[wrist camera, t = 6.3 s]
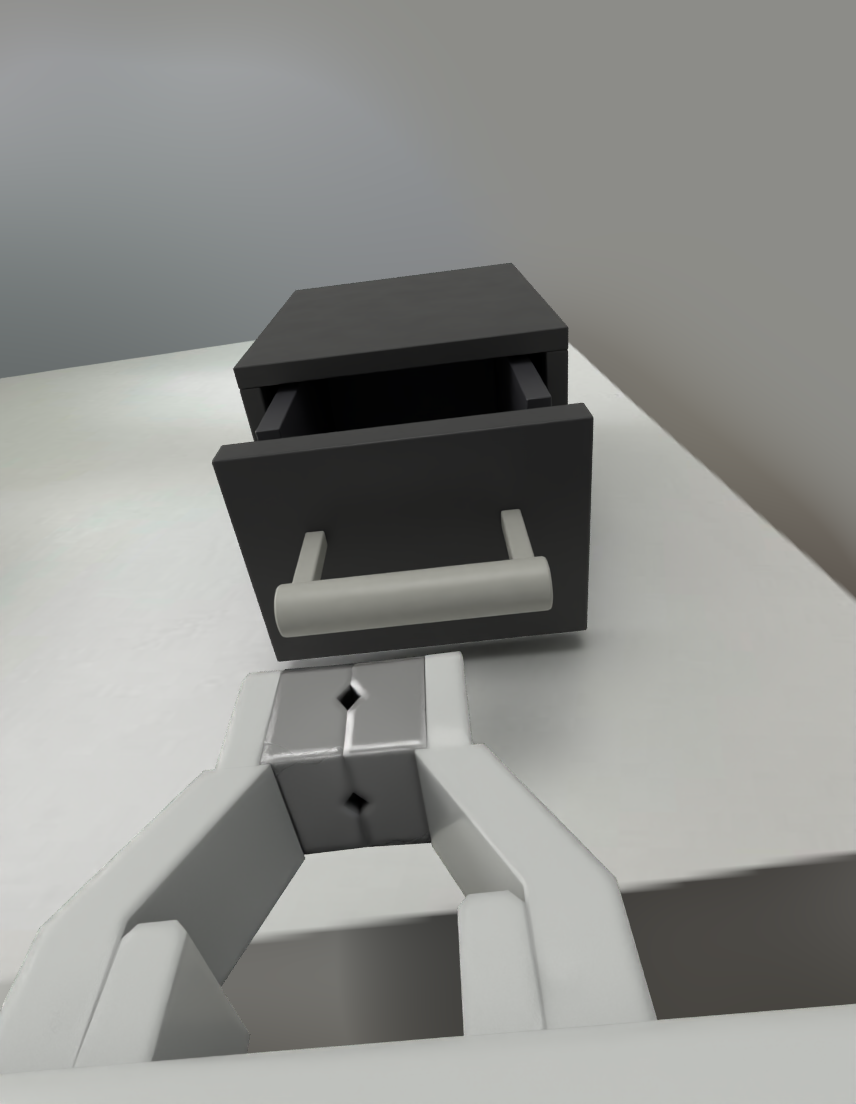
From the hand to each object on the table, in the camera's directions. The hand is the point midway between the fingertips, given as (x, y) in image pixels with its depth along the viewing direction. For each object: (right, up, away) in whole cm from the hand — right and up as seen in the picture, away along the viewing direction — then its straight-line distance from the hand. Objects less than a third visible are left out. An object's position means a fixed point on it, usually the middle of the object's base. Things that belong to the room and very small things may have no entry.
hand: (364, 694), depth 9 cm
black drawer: (+1, +1, +17) cm, 17 cm away
